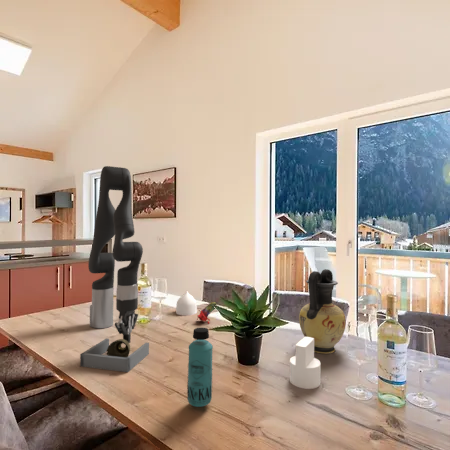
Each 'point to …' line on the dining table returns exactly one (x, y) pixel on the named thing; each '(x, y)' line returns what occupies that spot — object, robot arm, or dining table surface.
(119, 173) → the robot arm
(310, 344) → the cylinder with rectangular tab
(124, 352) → the cup
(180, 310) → the teardrop
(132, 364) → the box
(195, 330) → the beverage bottle
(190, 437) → the dining table surface
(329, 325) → the amphora
